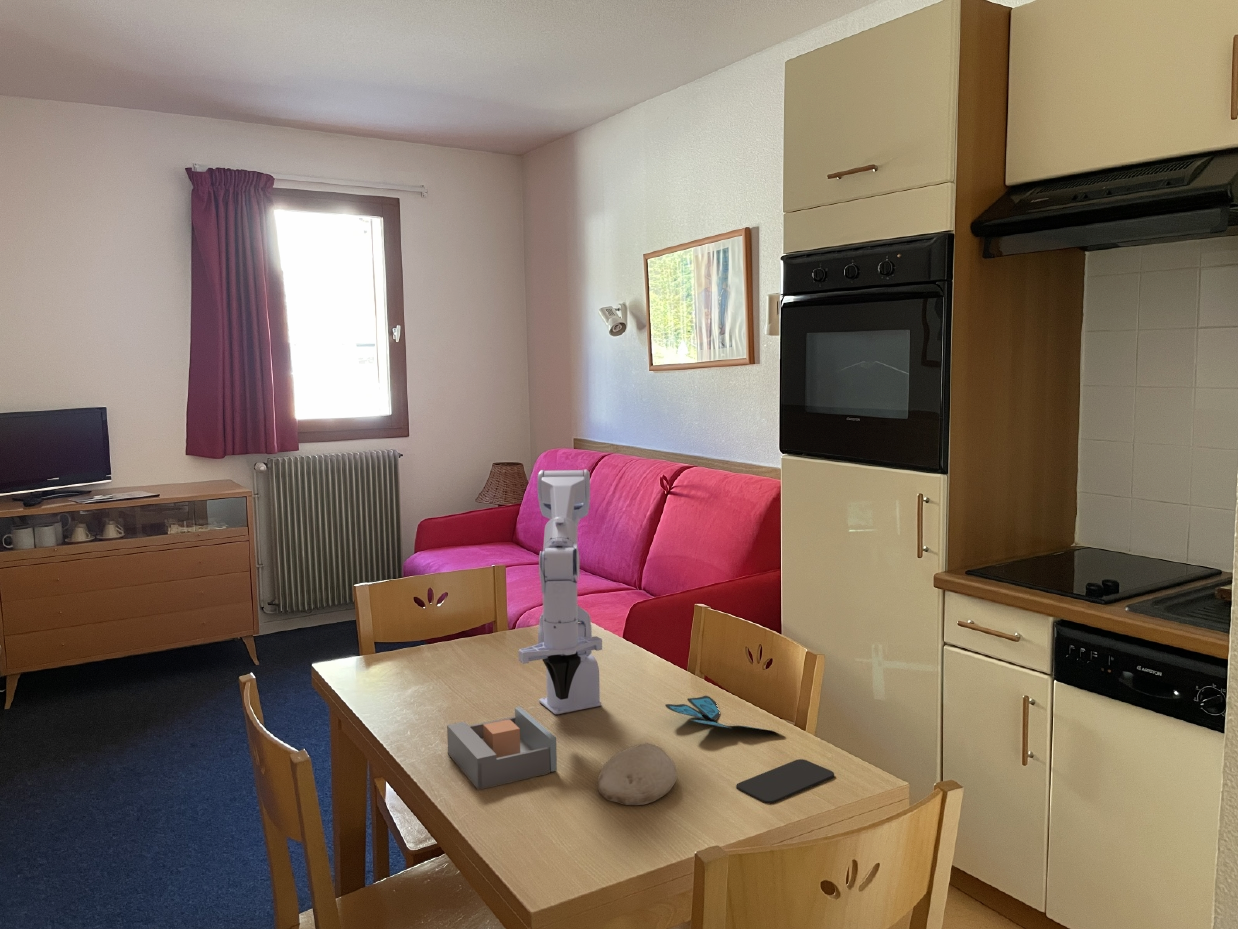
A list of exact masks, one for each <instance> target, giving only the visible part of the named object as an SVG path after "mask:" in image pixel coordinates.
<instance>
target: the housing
mask: <svg viewBox="0 0 1238 929" xmlns="http://www.w3.org/2000/svg"><path fill="white" fill-rule="evenodd" d="M508 719H510V720H511V721H512V722H513V723H514V724H515V716H512V717H511V716H510V717H506V718H500V719H495V720H491V721H486V722H479V723H474V724H470V725H468V723H467V722H466V721H460V722H457V723H456V722H455V723H451V724H450V723H449V724H447V725H446V732H447V735H446V738H447V754H448V756H450V758H451V759H452V760H453V761H454V763H455V764H456V765H457V766H458V768H459V769H460V770H461V771H462V772H463V773H464V774H465V776H466V777H467V778H468V779H469V780H470V782H471V783H472V784H473V785H474V786H475V789H477V790H478V791H479V790H484V789H487V788H493V787H497V786H500V785H506V784H508V783H513V782H514V783H515V782H517V781H521V780H522V781H523V780H527V779H531V778H535V777H539V776H543V775H549V774H551V773H550V772H551V771H550V754H549V748H548V747H545V748H541V749H536V750H532V751H527V752H522V753H518V754H513V755H508V756H504V757H499V758H497V756H496V754H495V753H494V752H493V751H492V749H491V748H490V747H489V746H488V745H487V744H486V743H485V742H484V741H483V740H482V739H481V738H483V724H488V723H493V722H498V721H503V720H508ZM548 773H549V774H548Z"/></svg>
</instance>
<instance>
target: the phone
mask: <svg viewBox="0 0 1238 929" xmlns="http://www.w3.org/2000/svg"><path fill="white" fill-rule="evenodd" d="M834 778H835V772H834V771H832V770H830V769H829V768H825V767H824V766H821V765H819V764H816V763H813V762H811V761H809V760H807V759H803V758H801V759H796V760H793V761H790V762H788V763H785V764H783V765H780V766H778V767H775V768H773V769H770V770H768V771H765V772H763V773H760V774H758V775H756V776H752V777H750V778H748V779H745V780H743V781H740V782H738V783H736V785H735V788H736V790H737V791H738V792H741V793H742V794H745V795H747V796H749V797H751V798H753V799H755V800H757V801H759V802H760V803H763V804H768V805H772V804H776V803H778V802H780V801H783V800H785V799H788V798H790V797H792V796H796V795H797V794H800V793H801V792H805V791H807V790H809V789H812V788H814V787H817V786H819V785H821V784H823V783H826V782H828V781H831V780H833V779H834Z"/></svg>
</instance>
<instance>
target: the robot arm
mask: <svg viewBox="0 0 1238 929" xmlns="http://www.w3.org/2000/svg"><path fill="white" fill-rule="evenodd" d="M590 476H591V474H590V471H589V470H588V469H586V468H585V469H582V470H581V469H580V470H579V469H577V470H571V469H569V470H544V469H540V471H539V472H538V473H537V480H536V481H537V500H538V504H539V510H540V511H541V512H540V513H541V516H543V517H545V518H546V519H549V520H548V521H547V522H546V524H545V525H544V533H543V534H544V535H543V546H542V547H543V548H542V550H540V551H539V555H538V556H539V557H538V558H539V559H538V573H539V578H540V587H541V589H540V591H541V594H542V613H541V614H540V617H539V618H538V622H539V624H538V625H539V626H538V628H537V629H538V630H537V631H538V632H537V644H534V645H531V646H527V647H525V648H524V647H523V648H520V649H518V651H517V652H518V661H519V662H520V663H521V664H523V665H524V664H525V665H526V664H529V662H534V661H540V660H542V662H543V664H544V666H545V667H546V668H545V669H546V670H545V673H546V697H542V698H539V699H538V702H539V703H540V704H542V705H543V706H544V707H545V708H547V709H548V710H549V712H550V711H551V713H553V714H554V715H560V714H561V715H562V714H565V713H570V712H577V711H580V710H585V709H586V710H587V709H591V708H597V707H600V706H602V705H603V704H602V702H601V701H600V699H601V698H600V697H601V696H600V694H601V692H600V691H601V690H600V687H601V686H600V668H599V663H598V661H597V659H596V656H594V655H593V654H592V653H593V651H603V639H602V638H600V637H599V636H597V635H596V636H593V635H592V633H593V631H592V630H593V629H592V628H593V627H592V620H591V619H592V618H591V616H590V613H588V611H586V609H584V608H582V607H581V606H579V605H578V582H579V580H580V579H579V578H580V552H579V548H578V530H579V529H578V526H579V523H580V520H581V519H582V518H585V517H586V516H588V515H589V510H590V500H591V477H590Z"/></svg>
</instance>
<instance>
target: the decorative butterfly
mask: <svg viewBox="0 0 1238 929" xmlns="http://www.w3.org/2000/svg"><path fill="white" fill-rule="evenodd" d="M687 701H688V703H689V704H691V705H692V706H693V707H691V705H688V704H685V703H681V704H673V703H672V704H671V703H666V704H665V705H664V706H665V707H666V708H667V709H668V710H670V711H672V712H675V713H678V714H681V715H686V716H690V717H694V718H696V719H693V718H692V719H688V720H689V721H690V722H691V721H692V722H694V723H698V724H704V725H709V726H710V725H711V726H715V727H716V726H717V727H722V728H727V729H732V727H731V726H728V723H726V722H725V724H726V725H725V724H724V723H721V722H719V721H717V719H718V718H719V717H720V716H721V710H720V711H719V710H718V709H717V708H718V707H717V706H716V705H717V704H718V703H717V701H715V700H714V699H713V698H711V696H709V695H702V696H700V697H699V696H698V697H691V698H687ZM716 703H717V704H716ZM719 712H720V714H719ZM719 715H720V716H719ZM697 718H698V719H697ZM730 725H733V726H734V724H732V723H730ZM736 726H739V727H741V725H739V724H736ZM743 727H744V728H747V726H745V725H743ZM749 728H750V729H751V728H752V729H753V727H750V726H749ZM756 729H758V730H760V728H758V727H756ZM762 730H765V731H766V729H764V728H762ZM769 731H772V730H770V729H769ZM775 732H778V731H776V730H775Z"/></svg>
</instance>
